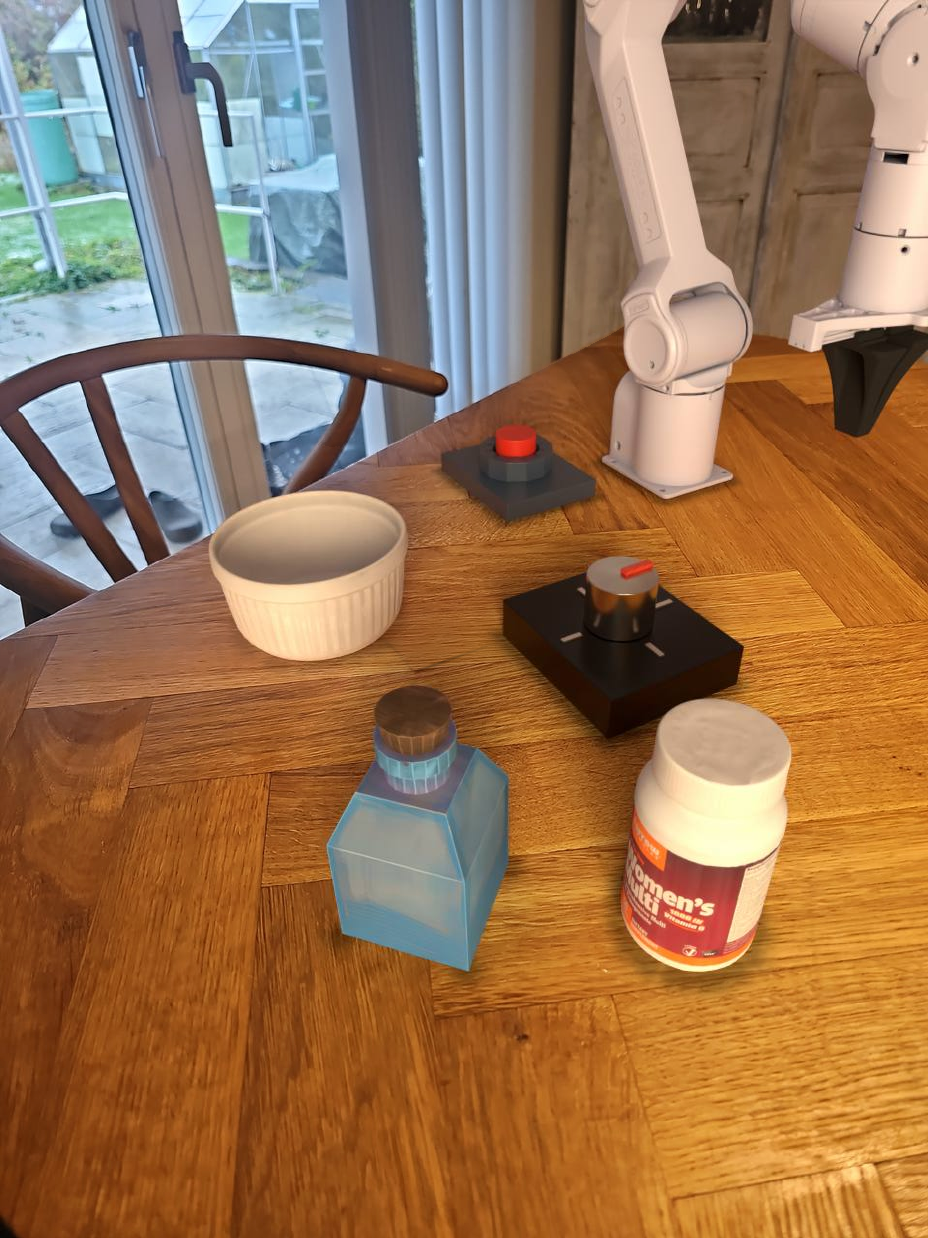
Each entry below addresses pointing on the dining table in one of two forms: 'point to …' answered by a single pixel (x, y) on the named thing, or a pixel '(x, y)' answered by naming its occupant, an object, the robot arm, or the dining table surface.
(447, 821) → the perfume bottle
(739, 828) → the pill bottle
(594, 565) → the dial
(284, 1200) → the dining table surface
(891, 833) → the dining table surface
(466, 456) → the button block
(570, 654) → the panel
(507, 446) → the button
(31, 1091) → the dining table surface
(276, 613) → the ramekin
